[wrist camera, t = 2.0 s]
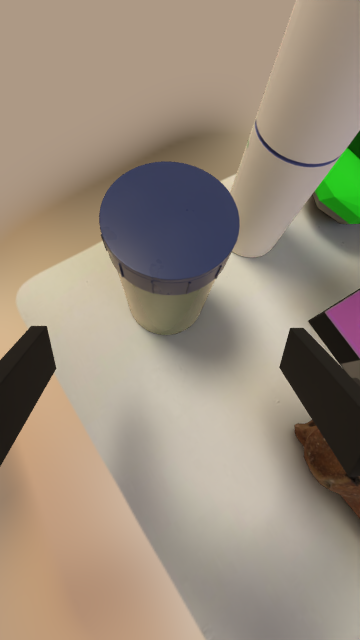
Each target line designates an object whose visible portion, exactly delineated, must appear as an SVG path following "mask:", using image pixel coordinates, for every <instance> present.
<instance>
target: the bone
mask: <svg viewBox="0 0 360 640" xmlns="http://www.w3.org/2000/svg"><path fill="white" fill-rule="evenodd" d="M294 426H295V434H296V436H297V438H298V439H299V441H300V442H301V443H302V445H303V446H304V458H305V460H306V462H307V464H308V467H309V469H310V471H311V473H312V474H313V475H314V477H315V478H316V480H317V481H318V482H319V483H320V484H321V485H323V486H324V487H326V488H327V489H329V490H330V491H333V492H336V493H338V494H340V495H341V496H342V497H343V498H344V500H345V501H346V502H347V504H348V505H349V506H350V507H351V509H352V510H353V511H354V512H355V513H356V515H357V516H358V517H359V519H360V476H356V477H348V475H347V474H346V472H345V470H344V469H343V467H342V466H341V464H340V462H339V461H338V459H337V458H336V456H335V455H334V453H333V451H332V450H331V448H330V447H329V445H328V444H327V442H326V440H325V439H324V437H323V436H322V434H321V432H320V431H319V429H318V428H317V426H316V425H315V423H314V421H313V420H311V421H310V422H308V423H305V424H299V423H298V424H296V425H294Z"/></svg>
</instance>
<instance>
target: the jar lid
mask: <svg viewBox="0 0 360 640" xmlns="http://www.w3.org/2000/svg"><path fill="white" fill-rule="evenodd" d="M99 217H100V218H99V223H100V229H101V233H102V234H101V237H102V240H103V242H104V245H105V248H106V251H108V253H109V256H110V259H111V261H112V263H113V265H114V266H115V268H116V269H117V271H118V272H119V273H120V274H121V276H122V277H124V278H125V279H126V280H127V281H129V282H130V283H131V284H133V285H135V286H136V287H138V288H140V289H142V290H145V291H148V292H151V293H152V294H153V293H154V294H159V295H182V294H188V293H191V292H194V291H196V290H199V289H201V288H203V287H204V286H206V285H208V284H209V283H210V282H212V281H213V280H214V279H217V277H218V275H219V274H220V273H221V271H222V270H223V268H224V266H225V264H226V262H227V260H228V258H229V256H230V254H231V252H232V250H233V248H234V246H235V244H236V242H237V240H238V239H237V238H238V235H239V228H240V219H239V213H238V209H237V206H236V203H235V201H234V199H233V197H232V196H231V194H230V193H229V191H228V190H227V189H226V187H225V186H224V185H223V184H222V183H221V182H220V181H219V180H217V179H216V178H215V177H213V176H212V175H211V174H209V173H207V172H205V171H204V170H202V169H199V168H197V167H194V166H191V165H188V164H184V163H178V162H155V163H149V164H145V165H142V166H138V167H136V168H134V169H132V170H130V171H128V172H126V173H125V174H123V175H122V176H121V177H119V178H118V179H117V180H116V181H115V182H114V183H113V184H112V185H111V187H110V188H109V189H108V191H107V192H106V194H105V196H104V198H103V201H102V204H101V207H100V215H99Z"/></svg>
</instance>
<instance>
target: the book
mask: <svg viewBox="0 0 360 640" xmlns="http://www.w3.org/2000/svg"><path fill="white" fill-rule="evenodd" d="M309 323H310V324H311V326H312V327H313V328H314V330H315V331H316V332H317V334H318V335H319V336H320V338H321V339H322V340H323V342H324V343H325V344H326V346H327V347H328V348H329V350H330V351H331V353H332V354H333V355H334V357H335V358H336V359H337V361H338V362H339V363H340V365H341V366H342V367H343V369H344V370H345V371H346V372H347V373H348V374H349V376H350V377H351V378H358V379H359V380H360V289H358V290H357V291H355V292H354V293H352V294H350V295H349V296H347V297H346V298H344V299H342V300H341V301H339V302H338V303H336V304H334V305H333V306H331V307H330V308H328V309H326V310H325V311H323V312H322V313H320V314H318V315H317V316H315V317H314V318H312V319H310V320H309Z"/></svg>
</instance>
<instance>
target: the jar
mask: <svg viewBox="0 0 360 640" xmlns="http://www.w3.org/2000/svg"><path fill="white" fill-rule="evenodd" d="M118 274H119V277H120V280H121V283H122V286H123V289H124V292H125V295H126V298H127V301H128V304H129V308H130V311H131V313H132V315H133V317H134V319H135V320H136V321H137V322H138V324H139V325H141V326H142V327H143V328H145V329H146V330H148V331H150V332H153V333H156V334H160V335H172V334H176V333H179V332H182V331H184V330H186V329H187V328H189V327H190V326H191V325H192V324H193V323H194V322H195V321H196V319H197V318H198V316H199V314H200V312H201V310H202V308H203V305H204V303H205V301H206V299H207V297H208V295H209V292H210V290H211V288H212V286H213V284H214V282H215V279H214V280H213V281H212V282H210V283H209V284H208V285H206V286H204V287H203V288H201V289H199V290H196V291H194V292H191V293H188V294H182V295H159V294H154V293H153V294H152V293H151V292H148V291H145V290H142V289H140V288H138V287H136V286H135V285H133V284H131V283H130V282H129V281H127V280H126V279H125V278H124V277H122V276H121V274H120V273H119V272H118Z"/></svg>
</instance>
